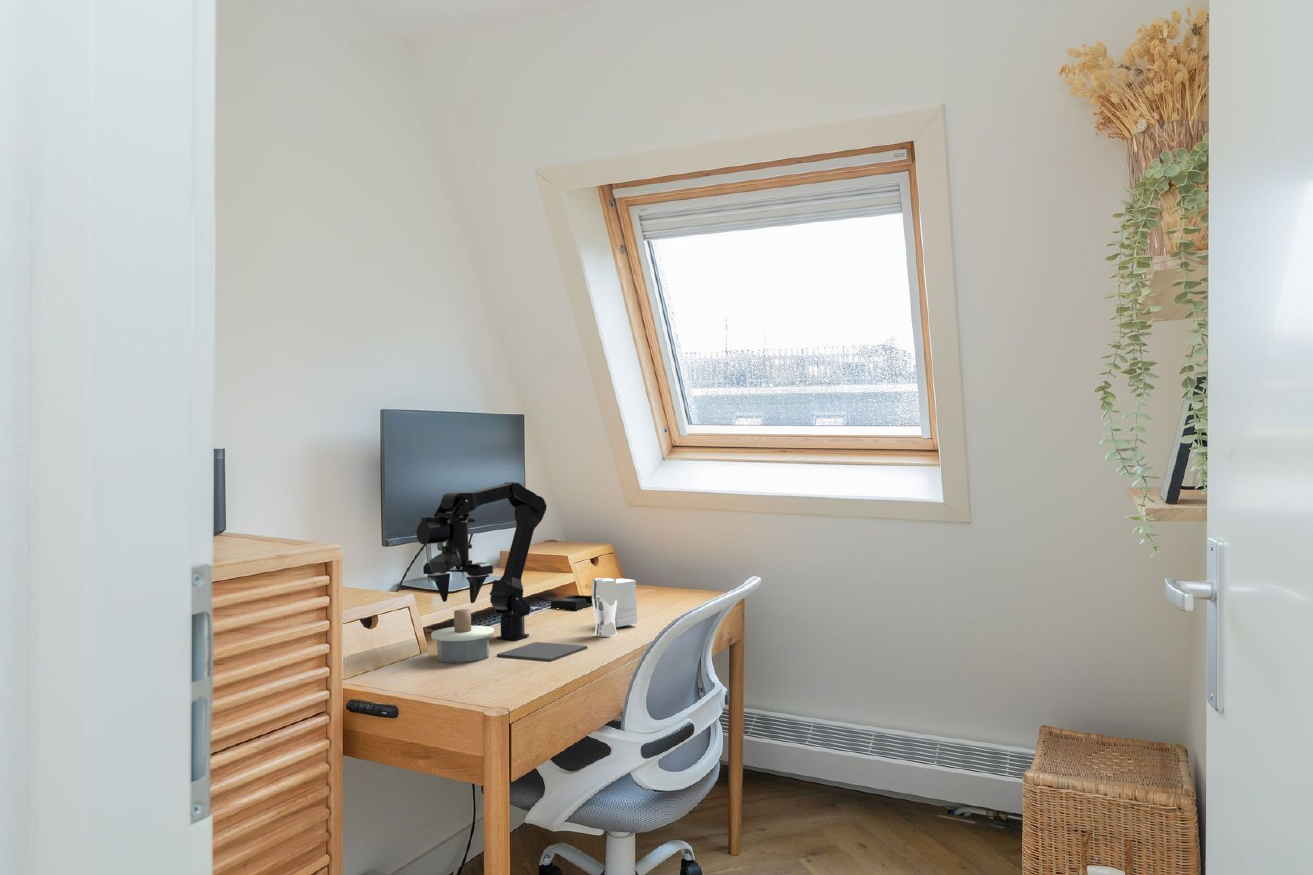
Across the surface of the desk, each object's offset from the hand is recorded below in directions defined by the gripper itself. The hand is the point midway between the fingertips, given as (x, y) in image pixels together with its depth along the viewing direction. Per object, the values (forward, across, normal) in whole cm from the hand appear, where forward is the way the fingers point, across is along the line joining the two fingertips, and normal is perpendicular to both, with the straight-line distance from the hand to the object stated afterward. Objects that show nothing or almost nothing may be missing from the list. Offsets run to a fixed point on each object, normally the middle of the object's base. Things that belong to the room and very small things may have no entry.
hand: (458, 602), depth 233 cm
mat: (+12, +23, +4) cm, 26 cm away
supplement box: (+12, +21, +45) cm, 51 cm away
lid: (+6, +8, -8) cm, 13 cm away
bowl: (+12, +8, -8) cm, 16 cm away
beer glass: (+12, +26, +29) cm, 41 cm away
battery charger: (+13, -7, +64) cm, 66 cm away
